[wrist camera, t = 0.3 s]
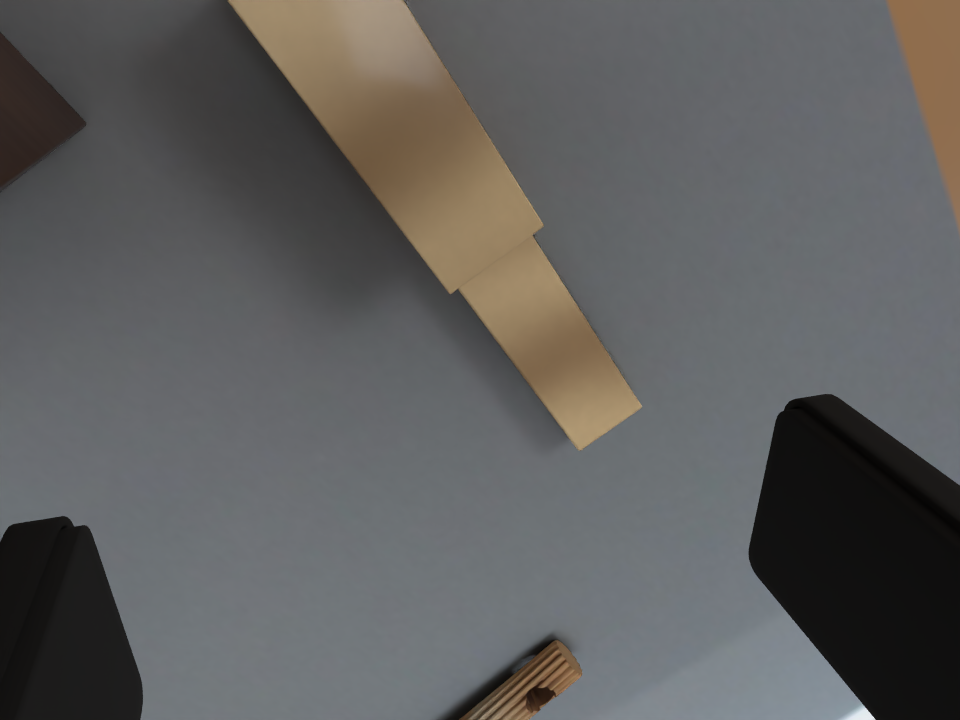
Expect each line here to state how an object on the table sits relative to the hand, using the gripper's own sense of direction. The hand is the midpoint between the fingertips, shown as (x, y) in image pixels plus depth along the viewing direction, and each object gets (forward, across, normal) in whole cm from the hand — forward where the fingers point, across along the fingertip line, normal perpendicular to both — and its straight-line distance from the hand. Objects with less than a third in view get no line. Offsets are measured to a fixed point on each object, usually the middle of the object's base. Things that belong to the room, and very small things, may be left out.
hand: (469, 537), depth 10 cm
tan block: (+14, -3, 0) cm, 14 cm away
